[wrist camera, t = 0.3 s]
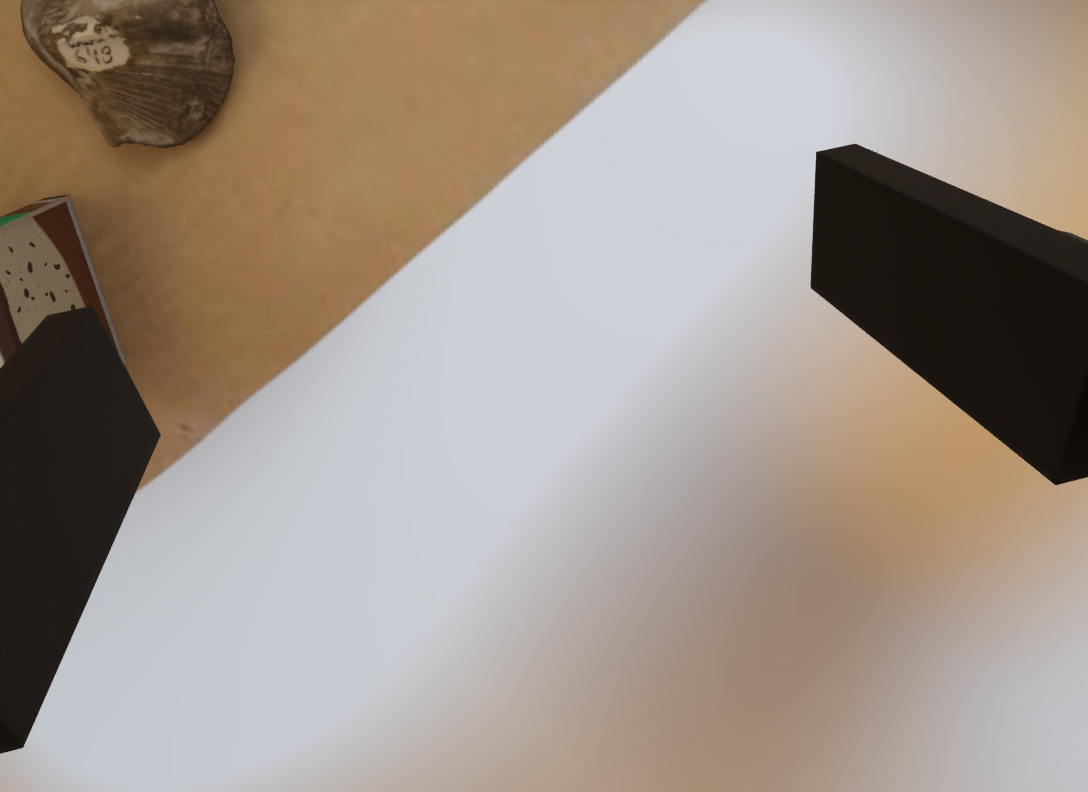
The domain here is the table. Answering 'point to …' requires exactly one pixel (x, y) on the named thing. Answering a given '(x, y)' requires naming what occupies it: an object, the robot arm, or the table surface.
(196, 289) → the table surface
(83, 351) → the robot arm
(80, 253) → the food container
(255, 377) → the table surface
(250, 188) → the table surface
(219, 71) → the fossilized seashell
